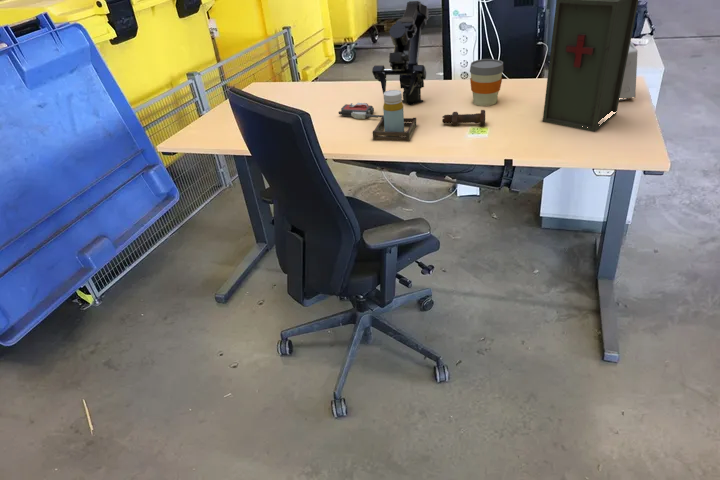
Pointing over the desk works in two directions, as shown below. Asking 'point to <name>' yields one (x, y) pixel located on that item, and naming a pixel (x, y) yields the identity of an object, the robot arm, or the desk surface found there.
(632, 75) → the electrical switch box
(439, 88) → the desk surface
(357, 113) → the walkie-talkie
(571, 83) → the first aid box
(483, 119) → the bolt
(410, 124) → the crate
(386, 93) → the bottle
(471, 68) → the reusable coffee cup
